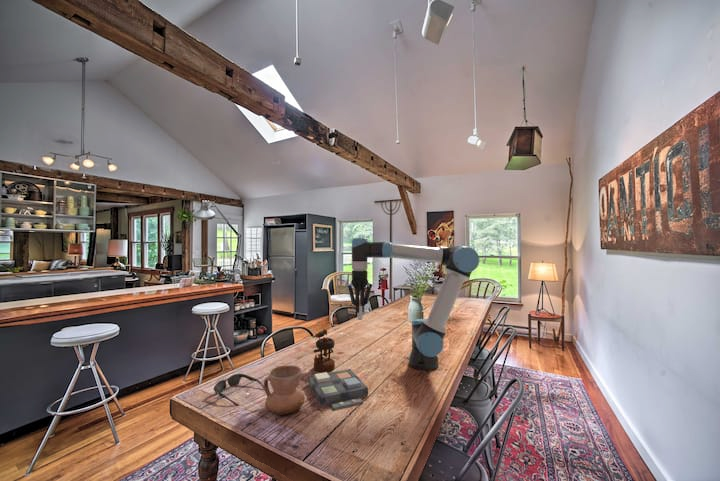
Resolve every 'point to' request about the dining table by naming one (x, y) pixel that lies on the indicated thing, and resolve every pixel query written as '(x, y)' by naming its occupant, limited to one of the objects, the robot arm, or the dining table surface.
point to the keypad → (342, 392)
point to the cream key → (322, 377)
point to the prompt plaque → (346, 403)
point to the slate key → (352, 383)
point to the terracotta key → (343, 375)
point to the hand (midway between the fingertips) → (359, 319)
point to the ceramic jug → (284, 390)
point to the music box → (323, 344)
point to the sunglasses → (231, 384)
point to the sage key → (329, 389)
